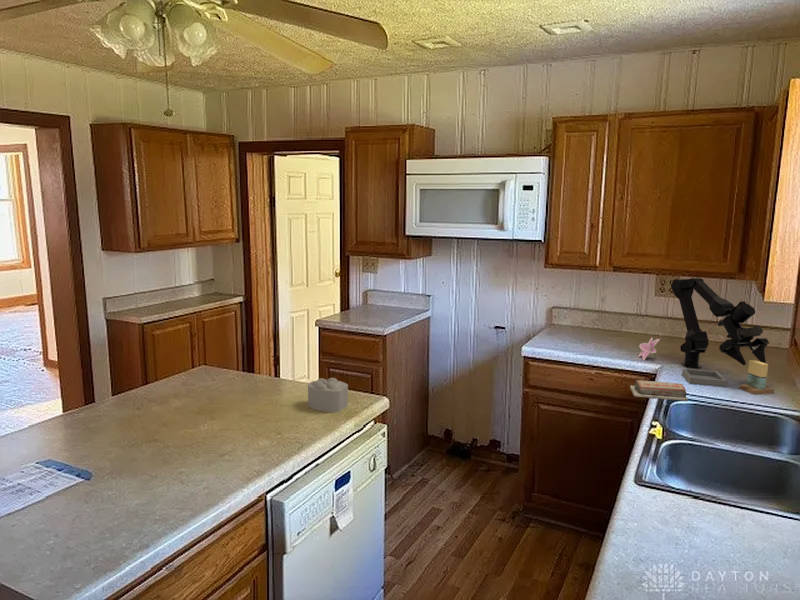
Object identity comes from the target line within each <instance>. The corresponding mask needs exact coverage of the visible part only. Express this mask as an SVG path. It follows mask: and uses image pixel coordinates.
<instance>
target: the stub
mask: <svg viewBox="0 0 800 600" xmlns="http://www.w3.org/2000/svg"><path fill="white" fill-rule="evenodd" d="M747 368H748V370H747V374H748V373H749V374H752V375H755V376H758V377H761V378H763V377H766V378H767V377H768V369H769V364H768V363H767V362H766V363H763V362H760V361H759V360H756V359H752V360H751V359H750V360H749V361H748V367H747Z"/></svg>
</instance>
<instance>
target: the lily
mask: <svg viewBox="0 0 800 600" xmlns="http://www.w3.org/2000/svg"><path fill="white" fill-rule="evenodd" d="M660 340H661V338H657V339H654V338H653V337H651V338H650V339H649V341H648V342H643V343H640V344H639V345H638V346H639V348H640V350H641V352H640V353H639V354H638V356H639V357H642V361H645V360H646V358H647V357H648V355H650V354H653V355H654V357H655V358H657V356H656V353H657V349H656V348H655V346H657V343H658V342H660ZM638 356H637V357H638ZM639 357H638V358H639Z"/></svg>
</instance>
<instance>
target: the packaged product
mask: <svg viewBox="0 0 800 600" xmlns="http://www.w3.org/2000/svg"><path fill="white" fill-rule="evenodd" d="M634 382H635V383H634V385H631V384H630V386H629V388H630V391H631V393H632V395H633V396H634V397H636V398H647V399H656V398H658V399H659V400H670V401H683V402H688V400H689V399H688V397H687V394H688V393H687V389H686V387H685V386H684V385H683V384H682V383H674V382H666V381H665V382H664V381H654V380H643V379H639V380H635V381H634Z"/></svg>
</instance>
